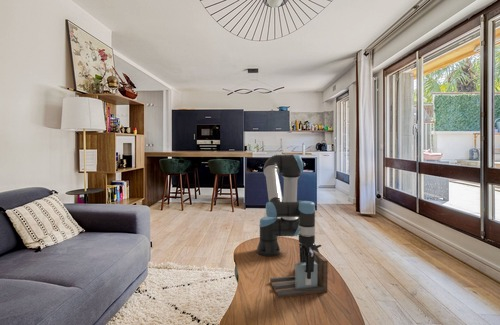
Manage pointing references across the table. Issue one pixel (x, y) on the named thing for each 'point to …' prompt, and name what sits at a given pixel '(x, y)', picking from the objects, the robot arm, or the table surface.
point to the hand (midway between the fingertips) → (306, 282)
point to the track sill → (287, 288)
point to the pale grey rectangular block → (300, 276)
